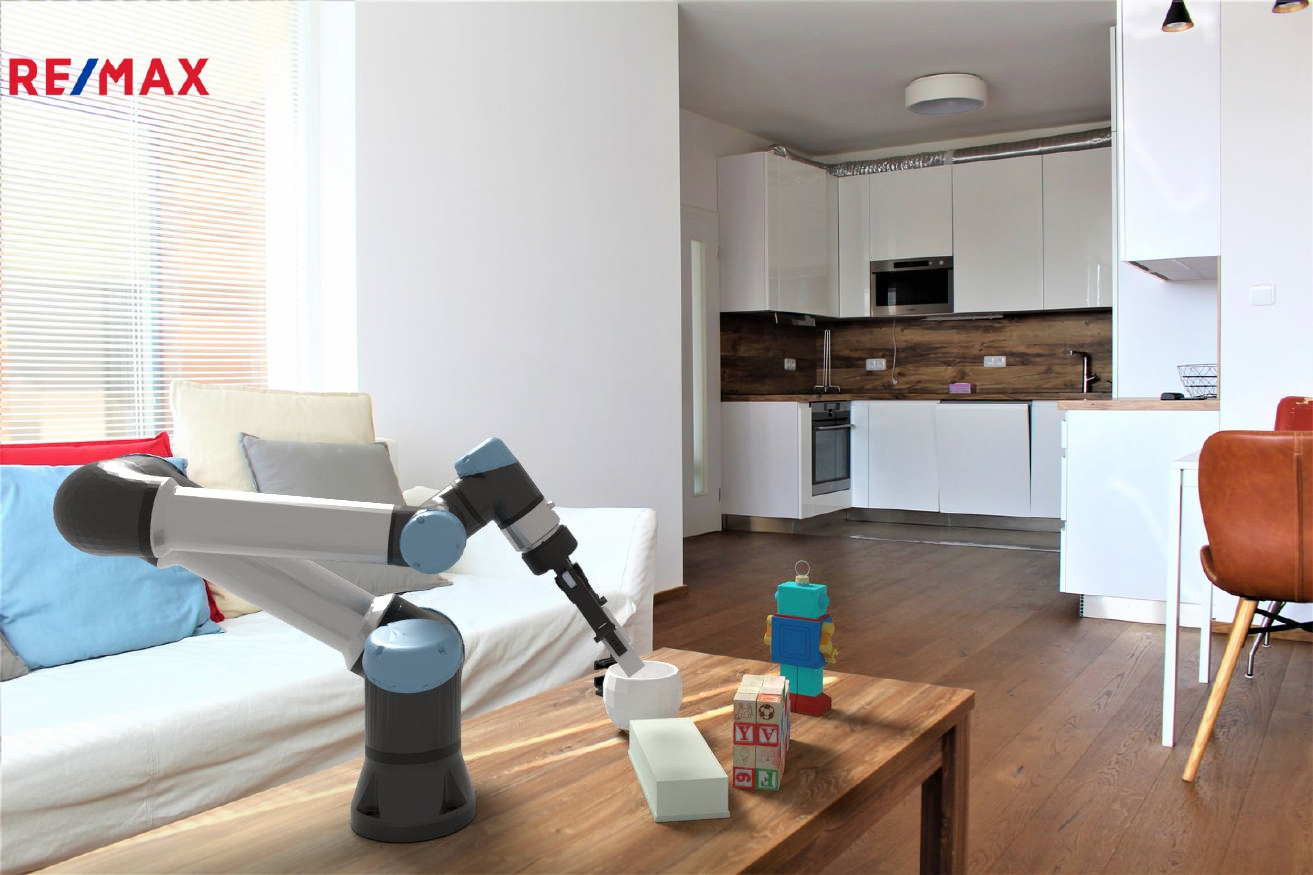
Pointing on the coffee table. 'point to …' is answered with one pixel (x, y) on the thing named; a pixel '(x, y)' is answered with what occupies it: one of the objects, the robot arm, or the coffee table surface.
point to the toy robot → (802, 642)
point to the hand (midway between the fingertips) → (630, 658)
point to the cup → (642, 693)
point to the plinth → (677, 770)
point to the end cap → (600, 679)
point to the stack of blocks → (760, 731)
